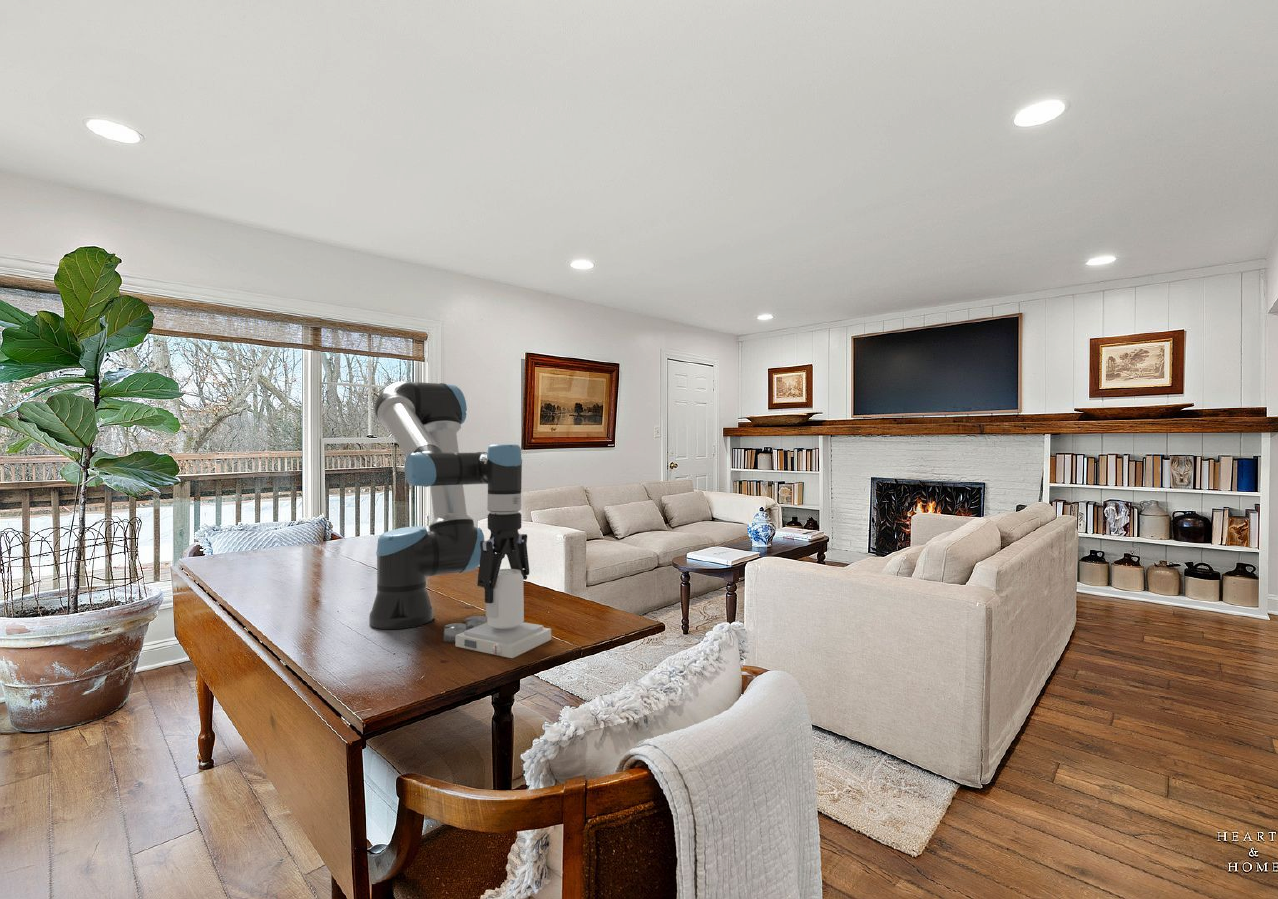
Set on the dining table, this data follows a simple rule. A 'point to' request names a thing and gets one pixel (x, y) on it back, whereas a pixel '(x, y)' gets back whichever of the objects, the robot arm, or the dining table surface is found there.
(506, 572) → the beverage can
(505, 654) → the scale
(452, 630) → the spacer
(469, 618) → the spacer
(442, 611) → the dining table surface
